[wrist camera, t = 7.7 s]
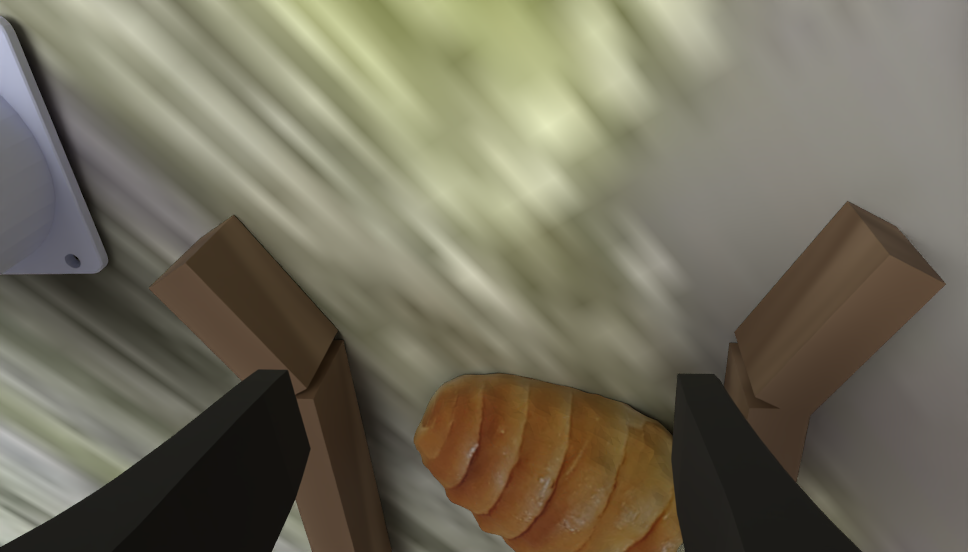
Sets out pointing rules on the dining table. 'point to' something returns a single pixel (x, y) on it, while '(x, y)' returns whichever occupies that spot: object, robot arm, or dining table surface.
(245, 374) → the holder
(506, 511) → the pastry
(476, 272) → the dining table surface
